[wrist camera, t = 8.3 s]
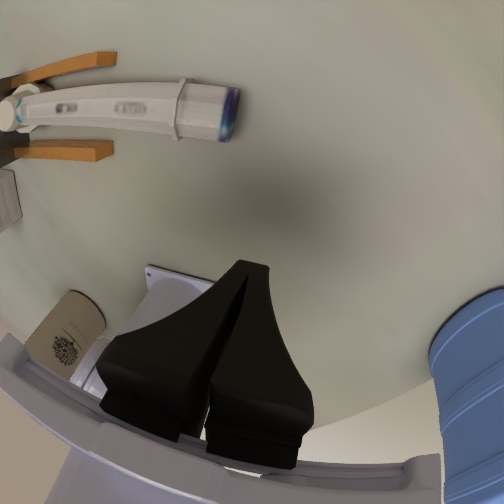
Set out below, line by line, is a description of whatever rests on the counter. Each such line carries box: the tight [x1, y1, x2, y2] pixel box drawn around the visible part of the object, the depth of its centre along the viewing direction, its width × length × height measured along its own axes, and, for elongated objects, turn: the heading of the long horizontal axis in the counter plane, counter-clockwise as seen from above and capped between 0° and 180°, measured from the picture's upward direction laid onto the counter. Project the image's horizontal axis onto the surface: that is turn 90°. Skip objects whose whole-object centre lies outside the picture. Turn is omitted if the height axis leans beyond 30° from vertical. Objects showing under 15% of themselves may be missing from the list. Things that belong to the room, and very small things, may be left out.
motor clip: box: [0, 52, 117, 168], centre depth 18 cm, size 10×17×5 cm, turn 83°
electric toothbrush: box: [0, 78, 240, 143], centre depth 17 cm, size 5×7×25 cm
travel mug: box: [24, 291, 105, 381], centre depth 29 cm, size 8×8×18 cm
